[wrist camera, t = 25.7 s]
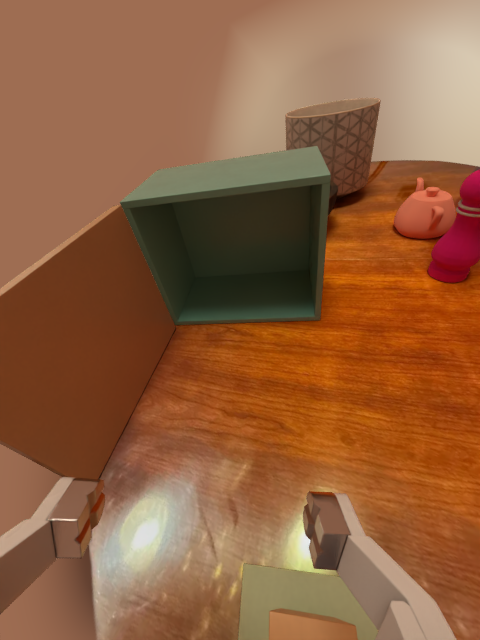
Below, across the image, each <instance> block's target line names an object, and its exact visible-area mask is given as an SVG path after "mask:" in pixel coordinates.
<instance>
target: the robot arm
mask: <svg viewBox="0 0 480 640" xmlns="http://www.w3.org/2000/svg"><path fill="white" fill-rule="evenodd" d="M103 488H104V480H98V479H87V478H74V477H62V478H61V479H59V480H58V481H57V483H56V484H55V485H54V487H53V488H52V490H51V491H50V492H49V494H48V495H47V496H46V498H45V499H44V501H43V502H42V503H41V505H40V506H39V508H38V509H37V510H36V512H35V513H34V514H33V516H32V517H31V518H30V519H25V520H24V521H22V522H21V523H19V524H18V525H16V526H15V527H13V528H12V529H11V530H9V531H8V532H6V533H5V534H3V535H2V536H0V614H1V613H2V612H3V611H4V610H5V609H6V608H7V607H8V606H9V605H10V604H11V603H12V602H13V601H14V600H15V599H16V598H17V597H18V596H20V595H21V594H22V593H23V592H24V590H25V589H27V588H28V587H29V586H30V585H31V584H32V583H33V582H34V581H35V580H36V579H37V578H38V577H39V576H40V575H41V574H42V573H43V572H44V571H45V570H46V569H47V568H48V567H49V566H50V565H51V564H52V563H53V562H54V561H55V560H56V558H82V557H83V554H84V552H85V550H86V548H87V546H88V544H89V542H90V540H91V538H92V536H91V530H92V529H93V528H94V527H95V526H97V525H98V523H99V521H100V519H101V516H102V513H103V510H104V506H105V495H104V494H103V493H102V490H103ZM307 502H308V504H307V505H306V506H305V507H304V512H303V523H304V529H305V534H306V536H307V537H308V538H309V539H310V540H311V541H310V546H309V550H310V554H311V558H312V562H313V566H314V569H327V570H337V573H338V574H339V576H340V577H341V579H342V580H343V581H344V583H345V584H346V586H347V587H348V588H349V590H350V591H351V593H352V594H353V596H354V597H355V598H356V600H357V601H358V603H359V604H360V605H361V607H362V608H363V610H364V611H365V612H366V614H367V615H368V617H369V618H370V619H371V621H372V622H373V624H374V625H375V627H376V628H377V629H378V634H377V636H376V638H375V640H457V639H456V637H455V635H454V634H453V632H452V630H451V628H450V626H449V625H448V623H447V621H446V619H445V617H444V616H443V614H442V612H441V610H440V608H439V607H438V605H437V603H436V601H435V600H434V599H433V598H432V597H431V596H430V595H429V594H428V593H427V592H426V591H425V590H424V589H423V588H422V587H421V586H420V585H419V584H418V583H417V582H416V581H415V580H414V579H412V578H411V577H410V576H409V575H408V574H407V573H406V572H405V571H404V570H403V569H402V568H401V567H400V566H399V565H398V564H397V563H396V562H395V561H394V560H393V559H392V558H391V557H390V556H389V555H388V554H387V553H386V552H385V551H384V550H383V549H382V548H381V547H380V546H379V545H378V544H377V543H376V542H375V541H374V540H373V539H372V538H371V537H368V536H366V535H365V533H364V531H363V528H362V526H361V524H360V522H359V519H358V517H357V515H356V513H355V511H354V508H353V506H352V504H351V502H350V499H349V497H348V496H347V494H345V493H332V492H310V491H309V492H308V494H307Z"/></svg>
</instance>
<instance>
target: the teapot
mask: <svg viewBox="0 0 480 640" xmlns="http://www.w3.org/2000/svg"><path fill="white" fill-rule="evenodd" d="M455 217H456V212H455V206H454V202H453V199H452V196H451V195H450V194H449V193H447V192H445V191H441V190H440V189H439V188H437V187H429V188H427V190H424V181H423V179H422V178H418V179H417V188H416V191H415V193H413V194H412V195H410V196H409V197H408V199H407V200H406V201H405V202H404V203H403V204H402V205H401V207H400V208H399V210H398V211H397V213H396V216H395V219H394V225H395V227H396V229H397V231H398V232H399V233H400V234H401V235H403V236H406V237H409V238H417V239H430V238H436V237H440V236H442V235H444V234H445V233H447V231H448V230H449V229H450V228H451V226H452V225H453V223H454V221H455Z"/></svg>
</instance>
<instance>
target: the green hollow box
mask: <svg viewBox="0 0 480 640" xmlns="http://www.w3.org/2000/svg"><path fill="white" fill-rule="evenodd" d="M330 181H331V174H330V172H329V170H328V168H327V165H326V163H325V161H324V159H323V157H322V155H321V153H320V150H319V148H318V146H312V147H306V148H299V149H292V150H286V151H279V152H273V153H266V154H260V155H253V156H247V157H240V158H233V159H227V160H220V161H214V162H207V163H201V164H193V165H187V166H180V167H173V168H167V169H160V170H157V171H156V172H155V173H154V174H153V175H151V176H150V177H149V178H148V179H147V180H146V181H144V182H143V183H142V184H141V185H140V186H138V187H137V188H136V189H135V190H134V191H132V192H131V193H130V194H129V195H128V196H126V197H125V198H124V199H123V200H122V201H121V202H120V204H121V206H122V208H123V210H124V213H125V215H126V217H127V219H128V221H129V224H130V226H131V228H132V230H133V233H134V235H135V237H136V239H137V242H138V244H139V246H140V248H141V251H142V253H143V255H144V257H145V259H146V262H147V264H148V266H149V268H150V271H151V273H152V275H153V277H154V280H155V282H156V284H157V286H158V289H159V291H160V293H161V295H162V298H163V300H164V302H165V304H166V306H167V309H168V311H169V313H170V315H171V318H172V320H173V322H174V324H175V325H193V324H223V323H253V322H282V321H312V320H320V317H321V303H322V290H323V276H324V262H325V249H326V235H327V222H328V208H329V195H330Z"/></svg>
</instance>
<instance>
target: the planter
mask: <svg viewBox="0 0 480 640" xmlns="http://www.w3.org/2000/svg"><path fill="white" fill-rule="evenodd" d="M379 107H380V99H377V98H360V99H359V98H358V99H348V100H340V101H334V102H327V103H322V104H317V105H313V106H308V107H304V108H300V109H297V110H294V111H291V112H289V113H287V114H286V150H292V149H299V148H306V147H312V146H318V148H319V150H320V153H321V155H322V157H323V159H324V161H325V163H326V165H327V168H328V170H329V172H330V174H331V181H332V182H334V183H336V185H337V186H338V192H337V197H336V200H337V199H340V198H342V197H344V196H346V195H348V194H350V193H352V192H355V191H357V190H359V189H361V188H363V187H364V186H365V185H366V184H367V182H368V176H369V169H370V163H371V157H372V151H373V144H374V138H375V132H376V126H377V120H378V113H379Z"/></svg>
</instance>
